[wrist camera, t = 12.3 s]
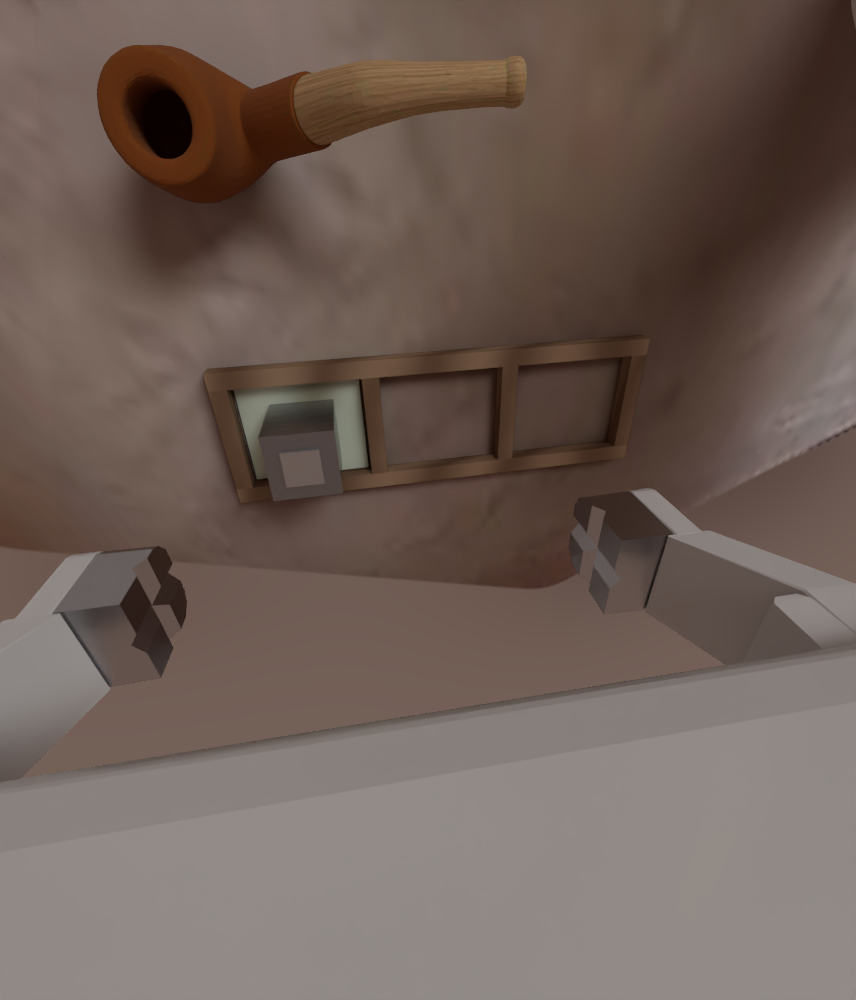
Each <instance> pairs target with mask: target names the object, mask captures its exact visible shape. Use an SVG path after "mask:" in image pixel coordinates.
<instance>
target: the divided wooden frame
mask: <svg viewBox="0 0 856 1000" xmlns="http://www.w3.org/2000/svg"><path fill="white" fill-rule="evenodd" d="M649 342H650V338H647V337H644V336H642V335H638V336H625V337H612V338H599V339H586V340H574V341H561V342H548V343H535V344H522V345H509V346H497V347H484V348H471V349H458V350H445V351H432V352H420V353H407V354H394V355H381V356H368V357H355V358H343V359H330V360H317V361H304V362H291V363H278V364H266V365H253V366H240V367H227V368H214V369H206V371H205V372H204V373H203V377H204V381H205V384H206V388H207V391H208V394H209V398H210V401H211V405H212V408H213V411H214V415H215V418H216V422H217V425H218V429H219V432H220V435H221V439H222V442H223V446H224V449H225V452H226V456H227V459H228V463H229V466H230V470H231V473H232V476H233V480H234V483H235V487H236V490H237V493H238V497H239V500H240V503H246V502H255V501H263V500H272V499H273V497H272V493H271V489H270V485H269V481H268V479H265V478H268V477H267V472H266V468H265V464H264V460H263V456H262V452H261V448H260V444H259V439H258V436H259V433H260V431H261V428H262V425H263V422H264V419H265V416H266V413H267V410H268V407H269V405H270V404H282V403H293V402H305V401H316V400H328V399H334V406H335V413H336V420H337V427H338V434H339V441H340V448H341V455H342V477H343V491H348V490H356V489H365V488H373V487H382V486H390V485H399V484H407V483H416V482H424V481H433V480H441V479H450V478H458V477H467V476H475V475H484V474H492V473H501V472H509V471H518V470H526V469H535V468H543V467H552V466H560V465H569V464H577V463H586V462H594V461H603V460H611V459H620V458H625V453H626V449H627V444H628V439H629V435H630V430H631V425H632V421H633V416H634V411H635V407H636V402H637V397H638V393H639V388H640V383H641V379H642V374H643V370H644V365H645V360H646V356H647V351H648V346H649ZM616 357H623V358H622V363H621V368H620V374H619V379H618V384H617V390H616V395H615V400H614V406H613V411H612V416H611V421H610V427H609V432H608V437H607V441H602V442H593V443H584V444H575V445H566V446H557V447H549V448H540V449H531V450H522V451H513V452H512V450H513V436H514V422H515V408H516V394H517V380H518V366H521V365H533V364H545V363H557V362H568V361H580V360H592V359H604V358H616ZM486 368H497V386H496V407H495V429H494V450H493V454H486V455H477V456H468V457H459V458H450V459H441V460H432V461H423V462H414V463H405V464H396V465H387V461H386V450H385V439H384V427H383V416H382V405H381V394H380V383H379V377H391V376H403V375H415V374H426V373H438V372H450V371H462V370H474V369H486ZM359 379H361V380H362V389H363V398H364V407H365V416H366V426H367V435H368V444H369V453H370V462H371V467H369V466H368V457H367V449H366V440H365V431H364V422H363V413H362V404H361V396H360V387H359ZM231 390H234V393H235V397H236V401H237V405H238V409H239V412H240V416H241V420H242V424H243V428H244V432H245V435H246V439H247V443H248V447H249V451H250V454H251V458H252V462H253V466H254V470H255V474H256V477H257V479H262V480H255V478H254V474H253V470H252V466H251V463H250V459H249V455H248V451H247V447H246V444H245V440H244V436H243V432H242V429H241V425H240V421H239V417H238V413H237V410H236V406H235V402H234V398H233V394H232V391H231ZM364 467H369V468H364ZM355 468H360V469H355ZM346 469H351V470H346Z"/></svg>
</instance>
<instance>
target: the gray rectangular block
mask: <svg viewBox="0 0 856 1000" xmlns="http://www.w3.org/2000/svg"><path fill="white" fill-rule="evenodd" d="M258 439H259V444H260V448H261V452H262V456H263V460H264V464H265V468H266V472H267V477H268V481H269V485H270V489H271V493H272V497H273V501H282V500H291V499H299V498H308V497H317V496H325V495H334V494H343V477H342V455H341V448H340V441H339V434H338V427H337V420H336V413H335V406H334V399H328V400H316V401H305V402H293V403H282V404H270V405H269V407H268V410H267V413H266V416H265V419H264V422H263V425H262V428H261V431H260V433H259V436H258Z"/></svg>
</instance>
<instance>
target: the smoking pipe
mask: <svg viewBox="0 0 856 1000" xmlns="http://www.w3.org/2000/svg"><path fill="white" fill-rule="evenodd" d="M526 82H527V69H526V63H525V61H524V59H523V58H522V57H521V56H511V57H509V58H507V59H504V60H488V61H449V62H410V61H389V60H366V61H359V62H354V63H350V64H346V65H342V66H338V67H334V68H330V69H326V70H322V71H318V72H315V73H310V72H306V71H305V72H299V73H297V74H294V75H291V76H288V77H286V78H283V79H280V80H278V81H275V82H272V83H270V84H267V85H264V86H261V87H258V88H255V89H251V88H249V87H248V86H246V85H244V84H242V83H241V82H239V81H237V80H236V79H234V78H232V77H230V76H229V75H227V74H225V73H224V72H222V71H220V70H219V69H217V68H215V67H213V66H212V65H210V64H208V63H207V62H205V61H203V60H201V59H199V58H198V57H196V56H194V55H192V54H190V53H188V52H186V51H184V50H182V49H179V48H175V47H171V46H163V45H134V46H128V47H125V48H122V49H121V50H119V51H118V52H116V53H115V54H114V55H112V56H111V57H110V58H109V60H108V61H107V62H106V64H105V65H104V67H103V69H102V71H101V74H100V78H99V81H98V88H97V99H98V109H99V114H100V118H101V121H102V124H103V127H104V130H105V132H106V134H107V136H108V138H109V140H110V142H111V143H112V145H113V146H114V148H115V150H116V151H117V152H118V153H119V155H120V156H121V157H122V158H123V160H124V161H125V162H126V163H127V164H128V165H129V166H130V167H131V168H132V169H133V170H135V171H136V172H137V173H138V174H139V175H141V176H142V177H143V178H145V179H147V180H148V181H150V182H151V183H153V184H154V185H156V186H158V187H160V188H161V189H163V190H165V191H167V192H169V193H171V194H173V195H175V196H177V197H180V198H182V199H185V200H189V201H192V202H198V203H215V202H220V201H222V200H225V199H228V198H230V197H232V196H234V195H236V194H238V193H240V192H241V191H243V190H245V189H246V188H247V187H249V186H250V185H252V184H253V183H254V182H255V181H256V180H258V179H259V178H260V177H261V176H262V175H263V174H264V173H265V172H266V171H267V170H268V169H269V168H270V167H271V166H272V165H273V164H274V163H276V162H277V161H280V160H284V159H287V158H291V157H295V156H299V155H303V154H307V153H311V152H315V151H319V150H323V149H325V148H327V147H329V146H330V145H331V143H332V142H334V141H337V140H340V139H342V138H345V137H347V136H350V135H353V134H355V133H358V132H361V131H363V130H366V129H369V128H372V127H375V126H379V125H382V124H385V123H389V122H392V121H396V120H399V119H403V118H407V117H410V116H414V115H420V114H426V113H432V112H438V111H447V110H458V109H469V108H480V107H506V108H516V107H518V106H520V105H521V103H522V102H523V100H524V96H525V91H526Z"/></svg>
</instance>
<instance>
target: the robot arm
mask: <svg viewBox="0 0 856 1000" xmlns="http://www.w3.org/2000/svg"><path fill="white" fill-rule="evenodd" d="M851 5H852V14H853V20H854V24H855V28H856V0H851ZM573 515H574V517H575V518H576V519H577V521H578V522H579V523H578V524H577V526H576V527H575V528H574V529H573V530H572V531H571V532H570V541H569V550H570V557H571V560H572V563H573V566H574V568H575V569H576V571H577V573H578V574H579V576H581V577H583V578H585V579H587V580H588V581H590V587H589V592H590V593H591V595H592V596H593V598H594V599H595V601H596V602H597V604H598V606H599V607H600V609H601V610H602V612H603V613H604V614H610V613H619V612H627V611H636V610H644V609H646V610H645V612H647V613H648V614H650V615H651V616H653V617H654V618H656V619H657V620H659V621H660V622H662V623H663V624H665V625H666V626H668V627H669V628H671V629H672V630H674V631H676V632H677V633H678V634H680V635H682V636H683V637H685V638H686V639H688V640H689V641H690V642H692V643H694V644H695V645H696V646H698V647H700V648H701V649H702V650H704V651H706V652H707V653H709V654H710V655H712V656H713V657H715V658H716V659H718V660H719V661H721V662H722V663H724V664H725V665H724V666H717V667H711V668H705V669H699V670H693V671H686V672H680V673H674V674H668V675H661V676H656V677H649V678H643V679H636V680H630V681H624V682H618V683H612V684H606V685H600V686H593V687H587V688H581V689H574V690H568V691H562V692H556V693H549V694H544V695H537V696H531V697H524V698H518V699H512V700H506V701H500V702H494V703H487V704H481V705H475V706H469V707H462V708H456V709H450V710H444V711H437V712H432V713H425V714H419V715H413V716H406V717H400V718H395V719H388V720H382V721H376V722H369V723H363V724H357V725H350V726H345V727H338V728H332V729H326V730H319V731H313V732H308V733H301V734H295V735H289V736H282V737H276V738H270V739H264V740H257V741H251V742H245V743H239V744H233V745H227V746H220V747H214V748H208V749H201V750H195V751H189V752H183V753H177V754H170V755H165V756H158V757H152V758H146V759H139V760H134V761H127V762H121V763H115V764H108V765H102V766H96V767H90V768H84V769H78V770H71V771H65V772H59V773H53V774H46V775H40V776H34V777H28V778H22V777H23V776H24V775H25V774H26V773H27V772H28V771H29V770H30V769H31V768H32V767H33V766H34V764H36V763H37V762H38V761H39V760H40V759H41V758H42V757H43V756H44V755H45V754H46V753H47V752H48V751H49V750H50V749H51V748H52V747H53V746H54V745H55V744H56V743H57V742H58V741H59V740H60V739H61V738H62V737H63V736H64V735H65V734H66V733H67V732H68V731H69V730H70V729H71V728H72V727H73V726H74V725H75V724H76V723H77V722H78V721H79V720H80V719H81V718H82V717H83V716H84V715H85V714H86V713H87V712H88V711H89V710H90V709H91V708H92V707H93V706H94V705H95V704H96V703H97V702H98V701H99V700H100V699H101V698H102V697H103V696H104V695H105V694H106V693H107V692H108V691H109V690H110V687H112V686H118V685H124V684H129V683H135V682H141V681H147V680H153V679H158V678H161V677H162V674H163V672H164V670H165V667H166V665H167V662H168V660H169V658H170V655H171V652H172V650H173V646H172V644H171V642H170V640H169V639H170V638H171V637H172V636H173V635H175V634H176V633H177V632H178V631H179V630H180V629H181V628H182V625H183V623H184V620H185V617H186V607H187V600H186V595H185V590H184V588H183V586H182V583H181V581H180V580H178V579H176V578H175V577H174V576H172V575H170V574H169V573H168V572H169V570H170V567H171V565H172V561H171V559H170V557H169V555H168V553H167V551H166V549H164V548H162V547H160V546H153V547H143V548H132V549H122V550H112V551H103V552H92V553H84V554H75V555H73V556H70V557H67V558H66V559H65V560H64V561H63V563H62V564H61V565H60V566H59V567H58V568H57V570H56V571H55V572H54V573H53V574H52V575H51V577H50V578H49V579H48V580H47V582H46V583H45V584H44V585H43V586H42V587H41V589H40V590H39V591H38V592H37V593H36V595H35V596H34V597H33V598H32V599H31V601H30V602H29V603H28V604H27V605H26V607H25V608H24V609H23V610H22V612H21V613H20V614H19V615H18V616H17V617H16V618H15V619H11V620H5V621H3V622H1V623H0V1000H856V584H854V583H852V582H849V581H846V580H844V579H841V578H838V577H835V576H832V575H830V574H827V573H824V572H822V571H819V570H816V569H813V568H811V567H808V566H805V565H803V564H800V563H797V562H794V561H791V560H789V559H786V558H783V557H780V556H778V555H775V554H772V553H770V552H767V551H764V550H761V549H759V548H756V547H753V546H750V545H748V544H745V543H742V542H739V541H737V540H734V539H731V538H729V537H726V536H723V535H720V534H718V533H715V532H712V531H701V530H700V529H699V528H697V527H696V526H695V525H694V524H693V523H692V522H691V521H690V520H688V519H687V518H686V517H685V516H684V515H683V514H682V513H681V512H679V511H678V510H677V509H676V508H675V507H674V506H673V505H672V504H670V503H669V502H668V501H667V500H666V499H665V498H664V497H663V496H661V495H660V494H659V493H658V492H657V491H656V490H654V489H650V488H644V489H637V490H631V491H625V492H620V493H613V494H605V495H597V496H590V497H582V498H578V500H577V502H576V504H575V508H574V514H573Z"/></svg>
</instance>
